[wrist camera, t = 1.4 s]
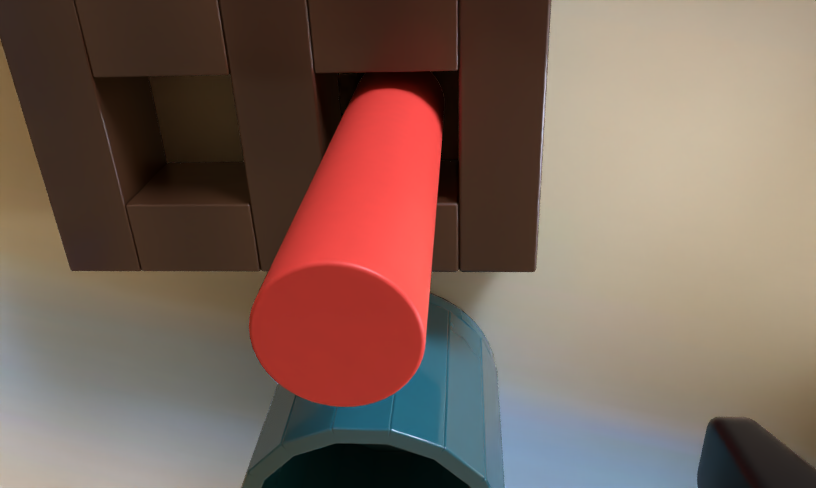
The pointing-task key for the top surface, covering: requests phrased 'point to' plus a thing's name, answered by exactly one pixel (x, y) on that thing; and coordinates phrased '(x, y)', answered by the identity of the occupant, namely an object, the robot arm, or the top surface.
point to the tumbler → (396, 424)
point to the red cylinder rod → (359, 252)
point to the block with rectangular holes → (269, 120)
